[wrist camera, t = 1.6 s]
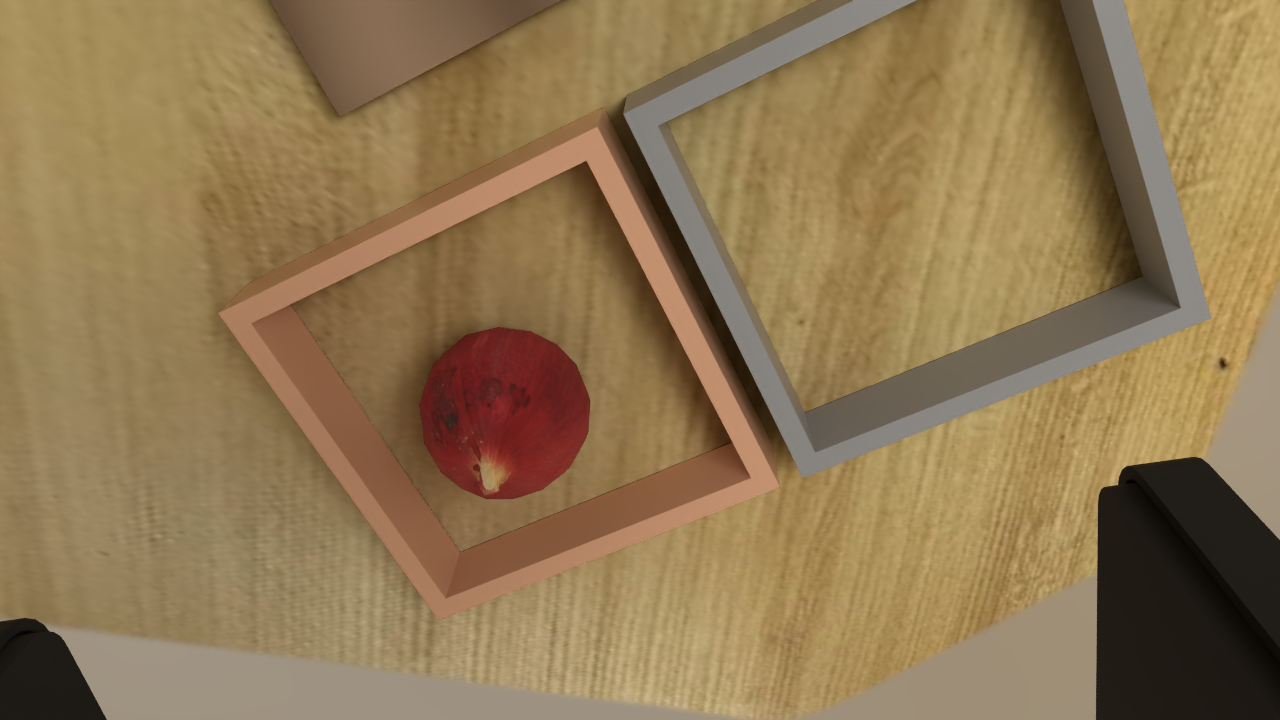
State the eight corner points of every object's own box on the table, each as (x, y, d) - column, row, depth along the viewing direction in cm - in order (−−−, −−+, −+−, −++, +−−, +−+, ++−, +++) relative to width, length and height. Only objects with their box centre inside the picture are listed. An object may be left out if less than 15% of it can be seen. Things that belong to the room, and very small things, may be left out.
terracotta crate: (603, 107, 34) (597, 126, 31) (772, 445, 40) (780, 486, 37) (251, 281, 37) (218, 313, 34) (453, 573, 43) (438, 620, 40)
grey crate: (1054, -117, 31) (1091, -117, 28) (1170, 286, 36) (1211, 318, 34) (626, 95, 34) (623, 114, 31) (793, 436, 39) (802, 477, 37)
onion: (412, 359, 38) (352, 470, 31) (518, 264, 37) (481, 358, 29) (521, 458, 40) (488, 585, 33) (627, 372, 38) (617, 486, 31)
